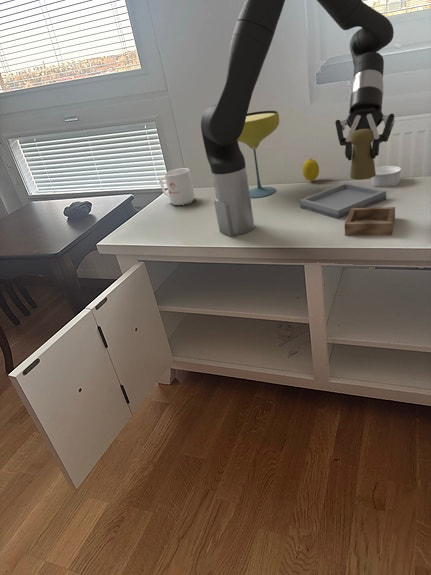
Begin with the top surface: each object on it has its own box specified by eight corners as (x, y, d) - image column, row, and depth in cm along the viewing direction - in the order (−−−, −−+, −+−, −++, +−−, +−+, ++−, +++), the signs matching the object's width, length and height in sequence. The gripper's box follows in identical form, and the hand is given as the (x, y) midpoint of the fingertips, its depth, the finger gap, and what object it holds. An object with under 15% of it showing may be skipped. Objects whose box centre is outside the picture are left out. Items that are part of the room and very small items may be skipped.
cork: (358, 181, 104) (356, 134, 98) (345, 176, 109) (343, 131, 104) (380, 175, 104) (380, 128, 99) (367, 170, 110) (366, 125, 104)
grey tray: (338, 219, 116) (338, 210, 115) (300, 207, 129) (299, 199, 128) (386, 199, 123) (386, 190, 122) (345, 190, 136) (344, 182, 135)
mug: (199, 197, 157) (193, 167, 152) (188, 206, 150) (181, 175, 145) (171, 198, 162) (164, 169, 157) (159, 207, 155) (152, 177, 150)
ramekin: (374, 179, 140) (374, 165, 138) (403, 178, 136) (403, 165, 134) (367, 188, 134) (367, 174, 132) (397, 188, 130) (397, 173, 127)
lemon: (318, 178, 152) (317, 155, 148) (320, 182, 147) (319, 159, 143) (302, 180, 153) (300, 157, 149) (304, 185, 148) (302, 161, 144)
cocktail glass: (273, 202, 138) (263, 120, 126) (225, 201, 147) (211, 125, 136) (294, 183, 151) (287, 108, 139) (248, 184, 160) (238, 113, 148)
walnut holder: (344, 235, 107) (344, 224, 105) (351, 218, 115) (350, 208, 114) (391, 235, 102) (392, 223, 101) (394, 217, 111) (395, 206, 109)
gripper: (334, 89, 106) (328, 152, 103) (397, 80, 100) (393, 146, 97) (338, 108, 113) (333, 167, 109) (398, 100, 107) (394, 163, 103)
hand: (361, 157), depth 103 cm, fingers closed on cork, 5 cm apart
